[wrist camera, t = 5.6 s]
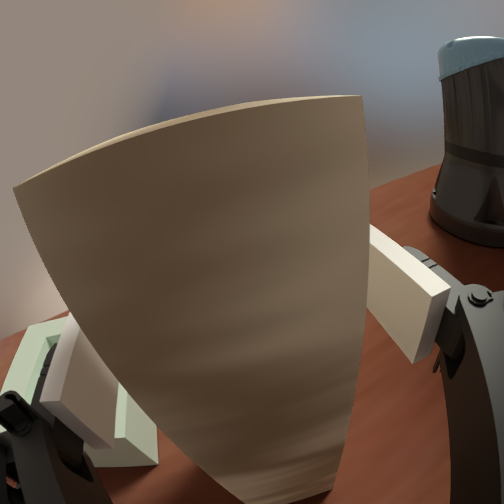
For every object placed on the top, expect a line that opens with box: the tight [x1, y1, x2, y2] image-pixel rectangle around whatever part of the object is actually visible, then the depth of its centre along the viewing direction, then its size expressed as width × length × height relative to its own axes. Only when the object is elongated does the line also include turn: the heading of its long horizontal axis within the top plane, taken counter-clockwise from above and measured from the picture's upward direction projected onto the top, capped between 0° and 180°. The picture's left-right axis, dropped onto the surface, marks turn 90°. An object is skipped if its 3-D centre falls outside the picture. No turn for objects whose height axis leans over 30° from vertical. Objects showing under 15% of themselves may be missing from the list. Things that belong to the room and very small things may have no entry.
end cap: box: [0, 317, 159, 467], centre depth 17 cm, size 12×12×4 cm
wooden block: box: [13, 95, 370, 504], centre depth 9 cm, size 4×6×16 cm, turn 13°
